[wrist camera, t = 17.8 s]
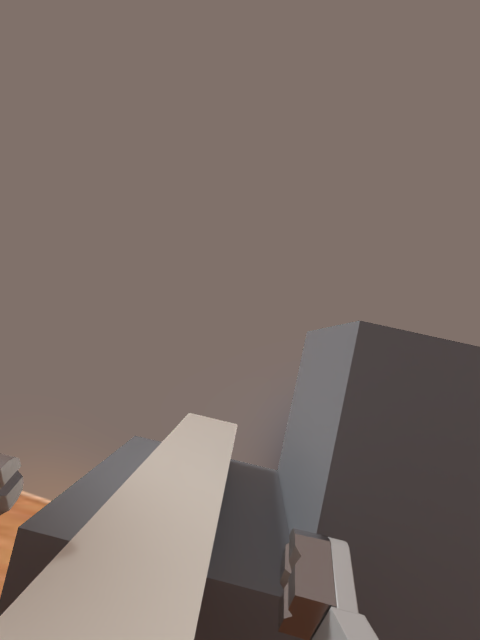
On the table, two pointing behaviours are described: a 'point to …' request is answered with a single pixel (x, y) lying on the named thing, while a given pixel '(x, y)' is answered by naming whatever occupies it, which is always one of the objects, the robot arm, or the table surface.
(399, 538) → the grey l-shaped step block
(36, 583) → the beige rectangular post
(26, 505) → the table surface
